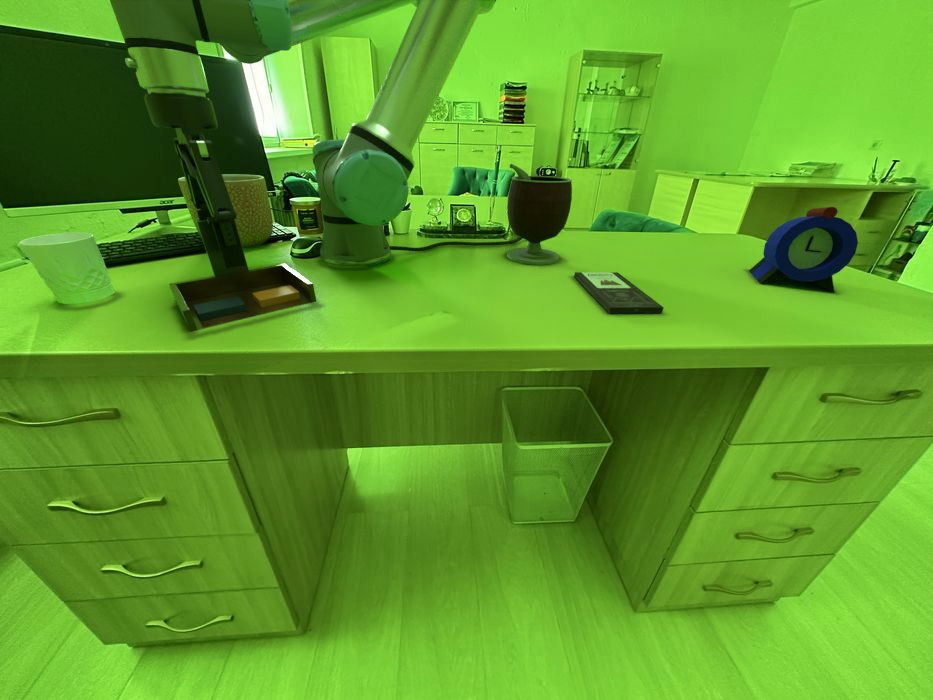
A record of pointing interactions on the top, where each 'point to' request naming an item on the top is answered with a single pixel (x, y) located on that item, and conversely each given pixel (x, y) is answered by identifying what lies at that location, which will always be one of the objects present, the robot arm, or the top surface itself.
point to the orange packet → (276, 296)
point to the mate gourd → (537, 214)
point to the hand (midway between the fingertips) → (227, 257)
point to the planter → (243, 207)
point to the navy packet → (219, 308)
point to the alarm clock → (808, 249)
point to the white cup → (70, 266)
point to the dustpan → (235, 285)
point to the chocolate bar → (617, 293)
